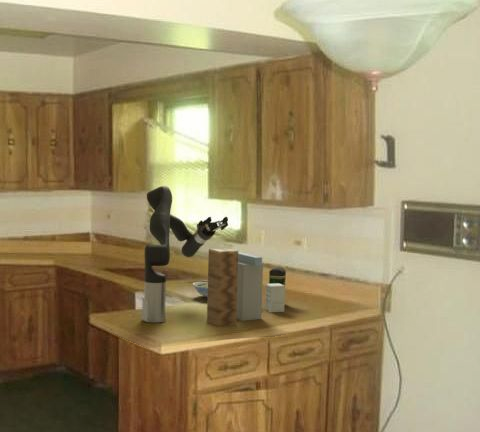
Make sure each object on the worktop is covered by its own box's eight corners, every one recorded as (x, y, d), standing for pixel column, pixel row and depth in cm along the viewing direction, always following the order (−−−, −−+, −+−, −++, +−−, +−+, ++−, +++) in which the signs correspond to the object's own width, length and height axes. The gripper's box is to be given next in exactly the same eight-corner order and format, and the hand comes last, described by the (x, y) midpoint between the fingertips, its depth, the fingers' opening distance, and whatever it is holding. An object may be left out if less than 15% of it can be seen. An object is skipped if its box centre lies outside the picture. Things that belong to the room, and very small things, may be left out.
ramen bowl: (199, 303, 361) (200, 286, 361) (184, 295, 382) (184, 279, 381) (245, 300, 372) (246, 284, 371) (228, 292, 392) (228, 277, 392)
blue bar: (255, 265, 320) (255, 257, 320) (228, 258, 341) (228, 251, 340) (261, 265, 322) (262, 257, 322) (234, 258, 342) (234, 250, 342)
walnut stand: (217, 326, 311) (219, 251, 309) (206, 321, 320) (208, 249, 317) (236, 324, 316) (238, 251, 313) (224, 320, 324) (226, 248, 322)
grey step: (242, 320, 324) (243, 264, 322) (228, 315, 334) (230, 261, 332) (261, 318, 329) (263, 263, 327) (247, 313, 339) (249, 260, 338)
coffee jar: (282, 307, 357) (283, 269, 356) (266, 306, 359) (267, 268, 358) (286, 303, 367) (287, 266, 365) (270, 302, 369) (271, 265, 367)
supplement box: (278, 309, 353) (279, 283, 352) (284, 312, 346) (285, 285, 345) (264, 309, 350) (265, 283, 349) (269, 312, 343) (270, 286, 342)
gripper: (189, 226, 349) (203, 211, 336) (215, 226, 356) (230, 211, 343) (192, 240, 346) (206, 226, 334) (219, 240, 353) (234, 225, 341)
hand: (218, 218), depth 339 cm, fingers open, 8 cm apart
